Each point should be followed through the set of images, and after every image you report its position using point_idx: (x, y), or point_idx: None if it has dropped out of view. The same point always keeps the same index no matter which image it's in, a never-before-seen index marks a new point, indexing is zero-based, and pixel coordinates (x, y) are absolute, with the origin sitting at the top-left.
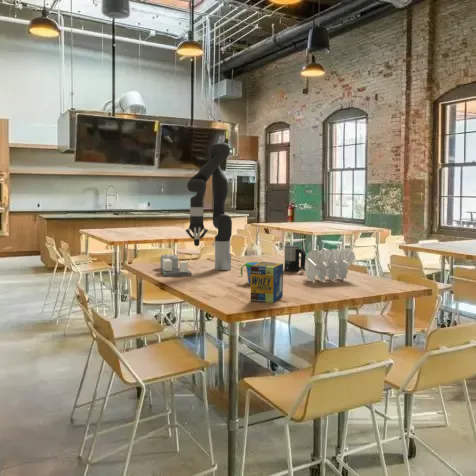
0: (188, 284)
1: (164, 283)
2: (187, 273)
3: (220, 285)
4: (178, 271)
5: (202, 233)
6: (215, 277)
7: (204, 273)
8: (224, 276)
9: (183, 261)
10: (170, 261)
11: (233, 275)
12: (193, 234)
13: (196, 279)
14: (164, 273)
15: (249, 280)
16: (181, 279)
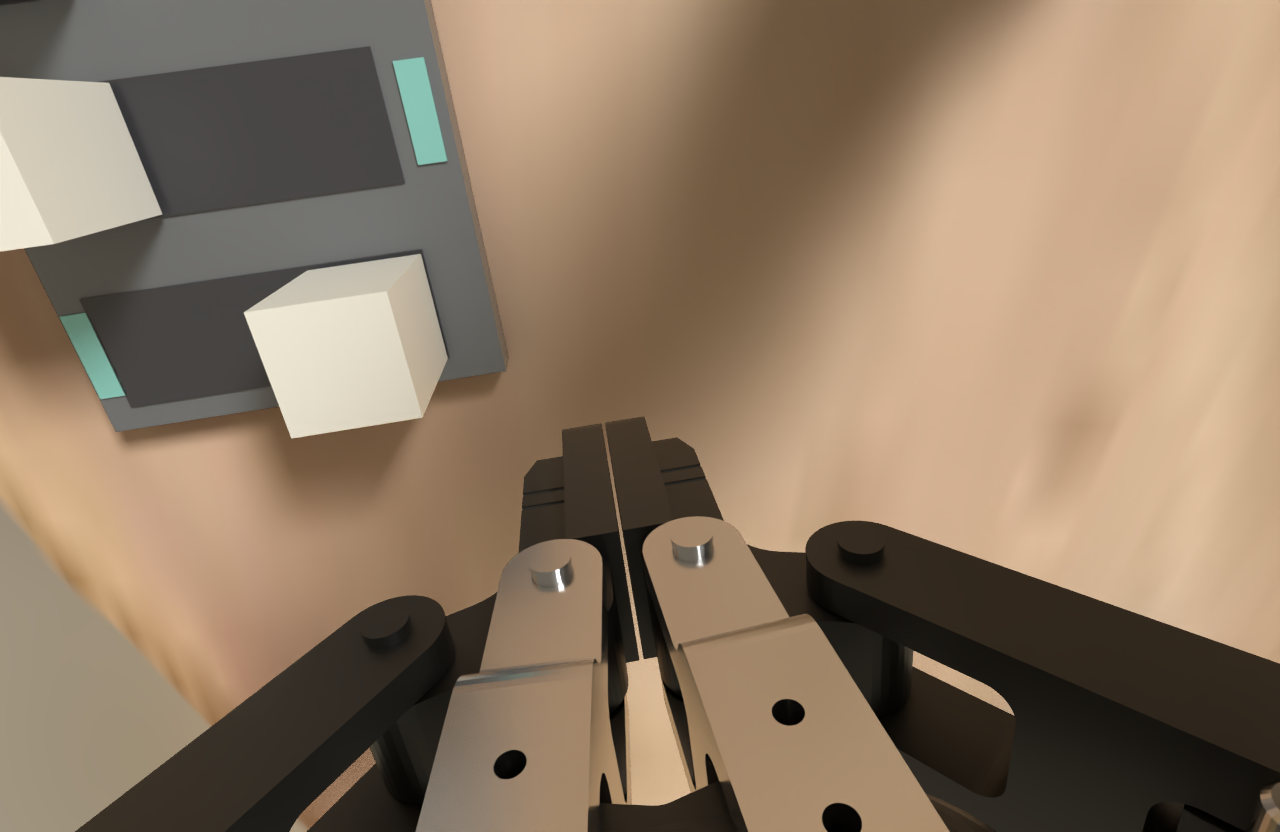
0: None
1: None
2: (448, 378)
3: None
4: (282, 221)
5: (1026, 732)
6: (794, 481)
7: (695, 162)
8: (908, 422)
9: (323, 305)
10: (24, 246)
11: (1030, 360)
12: (464, 705)
13: None
14: (102, 399)
15: None
16: (405, 587)
